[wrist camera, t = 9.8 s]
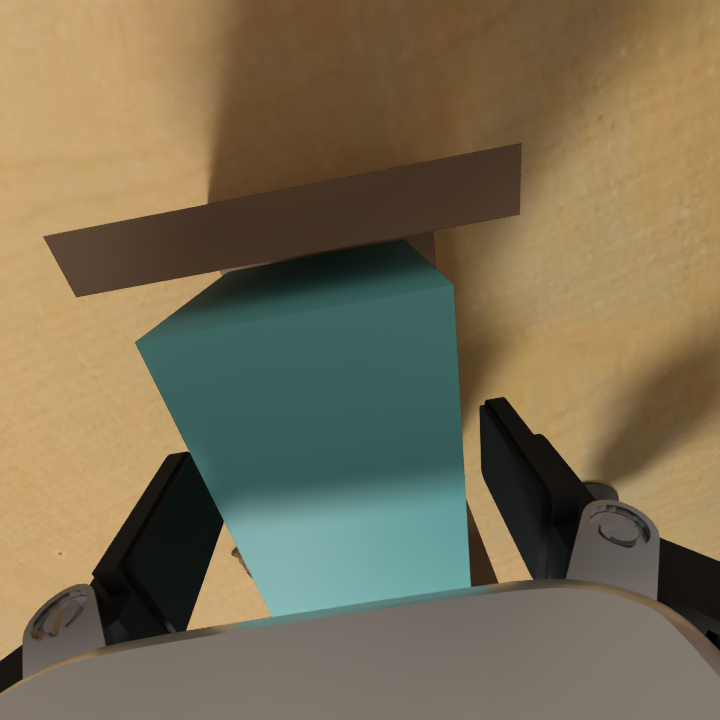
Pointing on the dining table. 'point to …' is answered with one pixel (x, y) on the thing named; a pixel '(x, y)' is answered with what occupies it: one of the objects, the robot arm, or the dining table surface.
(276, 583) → the turquoise block
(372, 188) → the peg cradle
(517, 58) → the dining table surface
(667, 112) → the dining table surface
